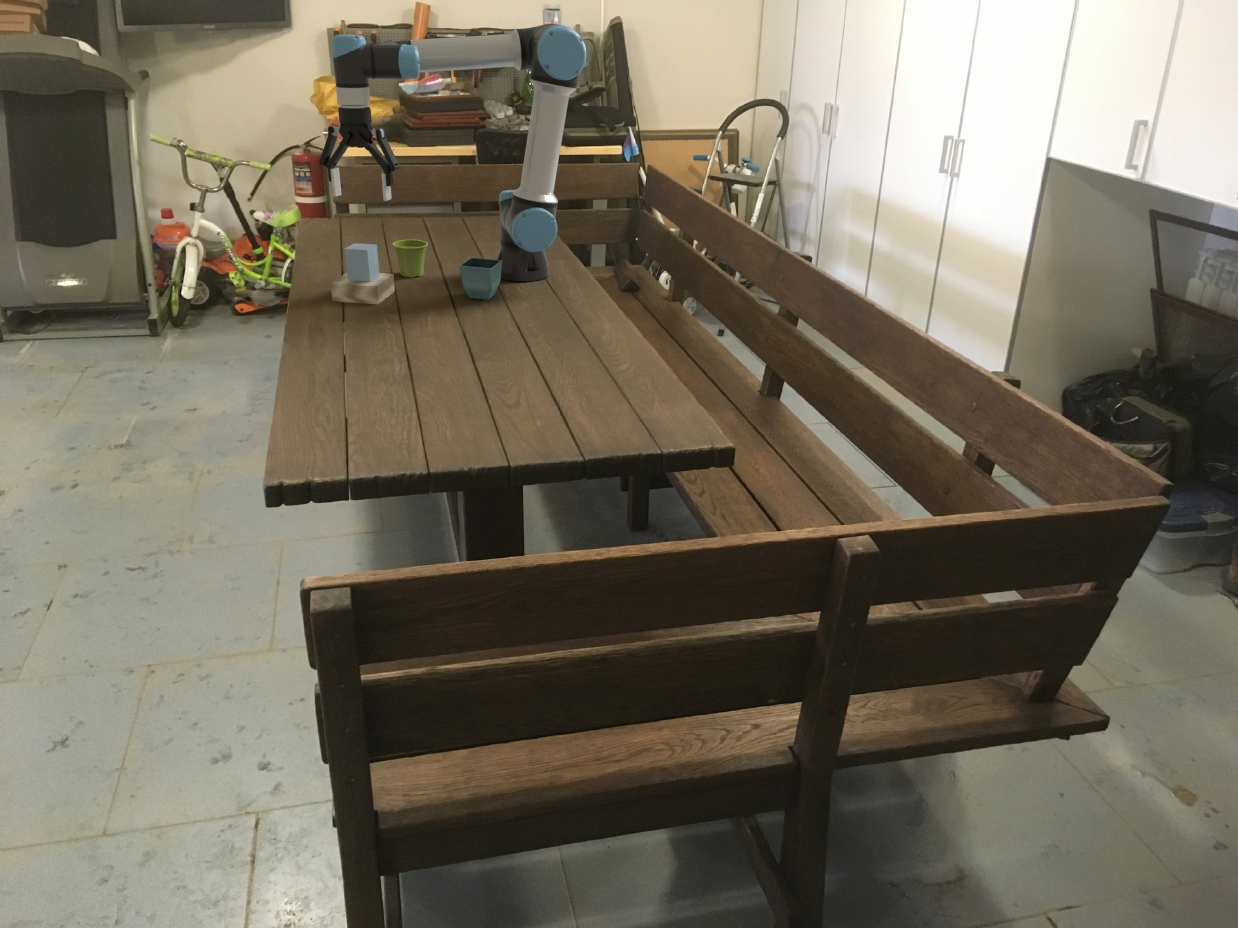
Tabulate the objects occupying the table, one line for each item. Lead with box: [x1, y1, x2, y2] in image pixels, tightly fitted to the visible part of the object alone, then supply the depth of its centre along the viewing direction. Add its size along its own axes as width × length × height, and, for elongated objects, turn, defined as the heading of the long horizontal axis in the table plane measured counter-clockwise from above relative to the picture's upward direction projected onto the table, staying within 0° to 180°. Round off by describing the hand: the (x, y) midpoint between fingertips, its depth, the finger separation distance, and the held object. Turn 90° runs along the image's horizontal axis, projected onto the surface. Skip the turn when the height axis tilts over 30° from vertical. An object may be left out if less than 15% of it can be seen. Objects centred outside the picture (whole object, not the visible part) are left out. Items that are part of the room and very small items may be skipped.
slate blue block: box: [343, 242, 380, 282], centre depth 249 cm, size 6×6×8 cm
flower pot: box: [458, 257, 502, 300], centre depth 252 cm, size 9×9×9 cm
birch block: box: [330, 272, 396, 305], centre depth 251 cm, size 12×12×5 cm
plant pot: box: [392, 239, 429, 279], centre depth 270 cm, size 9×9×9 cm
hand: (362, 198), depth 242 cm, fingers open, 13 cm apart
